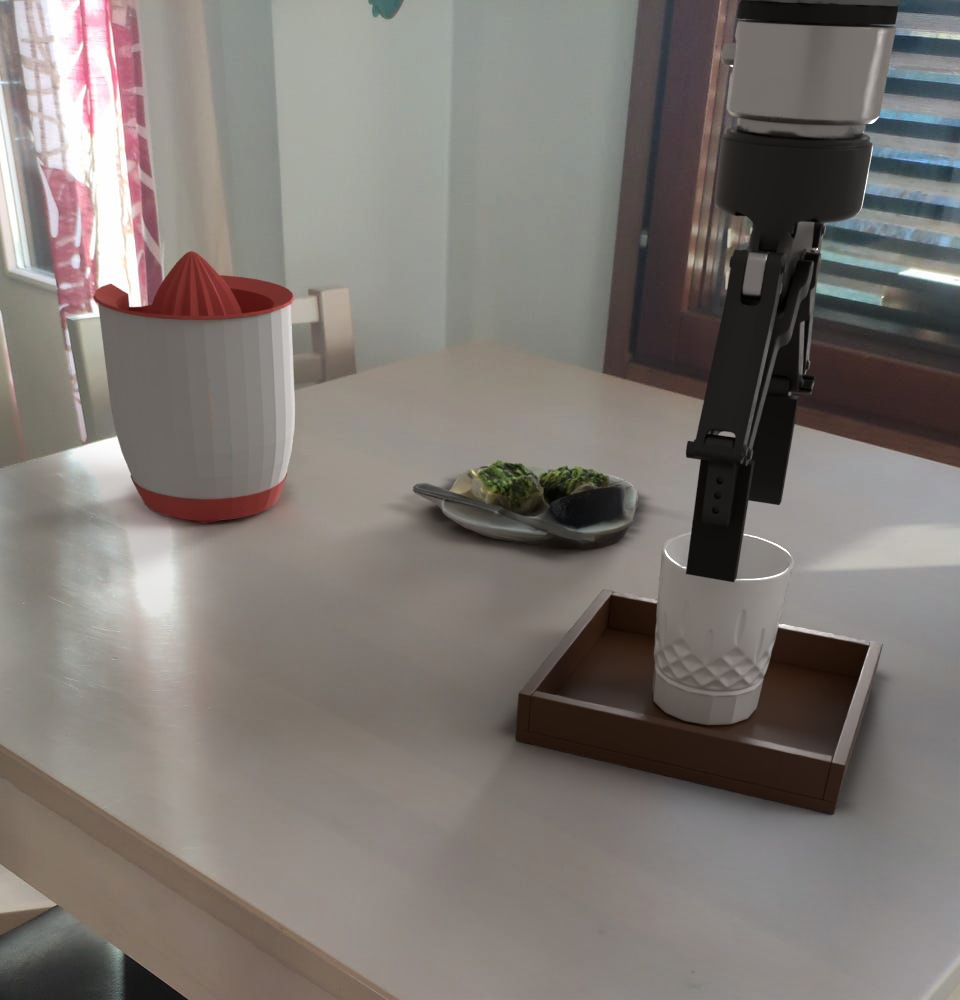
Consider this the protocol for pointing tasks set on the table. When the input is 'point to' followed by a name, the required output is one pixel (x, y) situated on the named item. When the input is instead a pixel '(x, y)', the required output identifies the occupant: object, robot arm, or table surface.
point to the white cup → (717, 632)
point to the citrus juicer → (202, 390)
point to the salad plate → (539, 504)
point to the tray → (695, 747)
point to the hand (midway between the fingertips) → (736, 536)
